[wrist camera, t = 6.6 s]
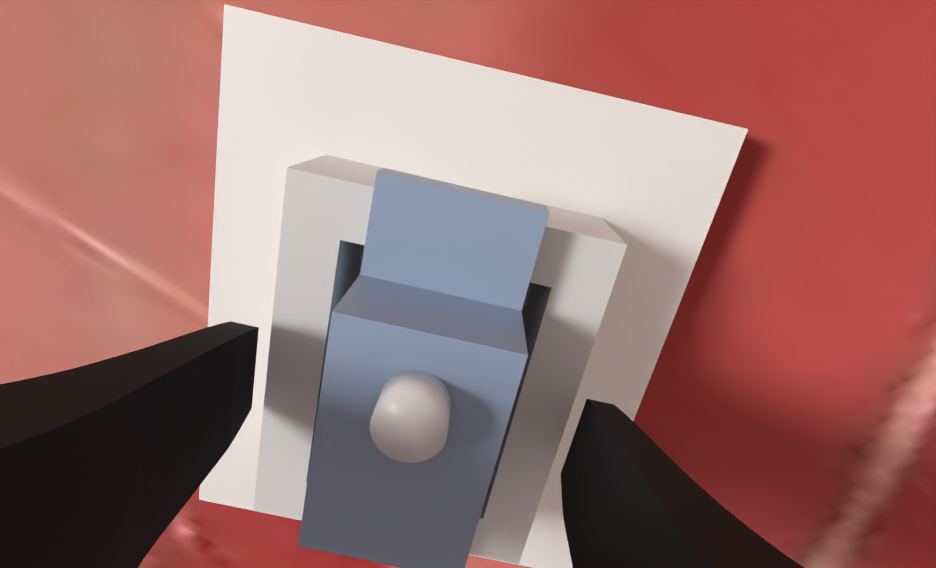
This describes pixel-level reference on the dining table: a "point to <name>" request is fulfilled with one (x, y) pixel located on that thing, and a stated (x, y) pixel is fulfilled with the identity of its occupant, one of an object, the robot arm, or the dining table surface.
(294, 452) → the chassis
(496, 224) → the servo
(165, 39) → the dining table surface
